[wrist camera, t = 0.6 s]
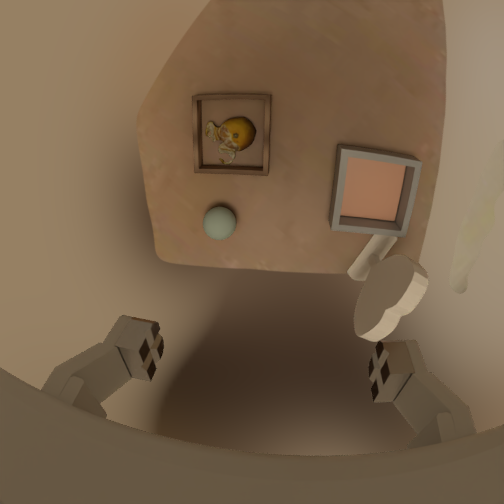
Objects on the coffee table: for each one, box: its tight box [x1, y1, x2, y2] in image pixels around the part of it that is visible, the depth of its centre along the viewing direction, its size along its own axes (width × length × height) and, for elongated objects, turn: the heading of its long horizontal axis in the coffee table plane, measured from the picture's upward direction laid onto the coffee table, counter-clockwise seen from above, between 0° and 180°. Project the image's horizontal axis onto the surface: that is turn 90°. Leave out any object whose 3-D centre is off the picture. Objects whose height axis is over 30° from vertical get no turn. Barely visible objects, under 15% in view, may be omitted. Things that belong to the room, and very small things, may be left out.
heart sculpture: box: [347, 234, 429, 342], centre depth 48 cm, size 16×5×18 cm, turn 156°
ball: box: [203, 207, 236, 240], centre depth 53 cm, size 6×6×6 cm
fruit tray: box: [192, 94, 271, 176], centre depth 46 cm, size 14×13×2 cm
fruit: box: [206, 117, 256, 164], centre depth 46 cm, size 8×8×4 cm
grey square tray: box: [329, 144, 422, 237], centre depth 47 cm, size 14×14×4 cm
